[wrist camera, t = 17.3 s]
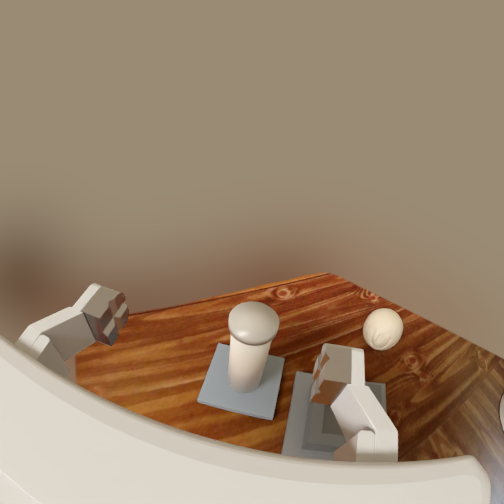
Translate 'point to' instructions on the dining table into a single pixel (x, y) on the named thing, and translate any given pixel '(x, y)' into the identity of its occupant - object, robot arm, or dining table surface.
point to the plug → (250, 344)
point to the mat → (244, 403)
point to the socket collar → (316, 422)
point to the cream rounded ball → (382, 329)
